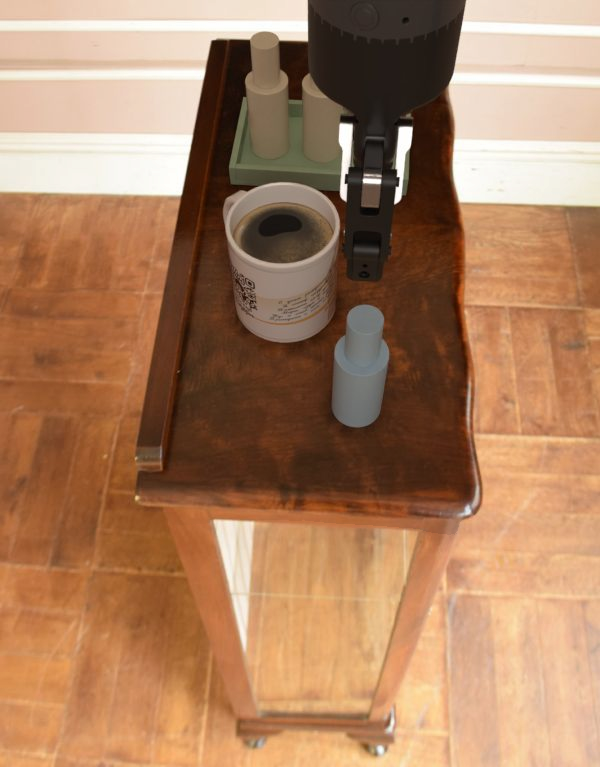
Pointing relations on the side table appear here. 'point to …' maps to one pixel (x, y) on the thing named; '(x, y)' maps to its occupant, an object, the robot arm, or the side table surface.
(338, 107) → the cream bottle
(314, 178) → the tray
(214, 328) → the side table surface
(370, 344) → the blue bottle
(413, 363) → the side table surface
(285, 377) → the side table surface
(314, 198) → the mug
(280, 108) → the cream bottle
